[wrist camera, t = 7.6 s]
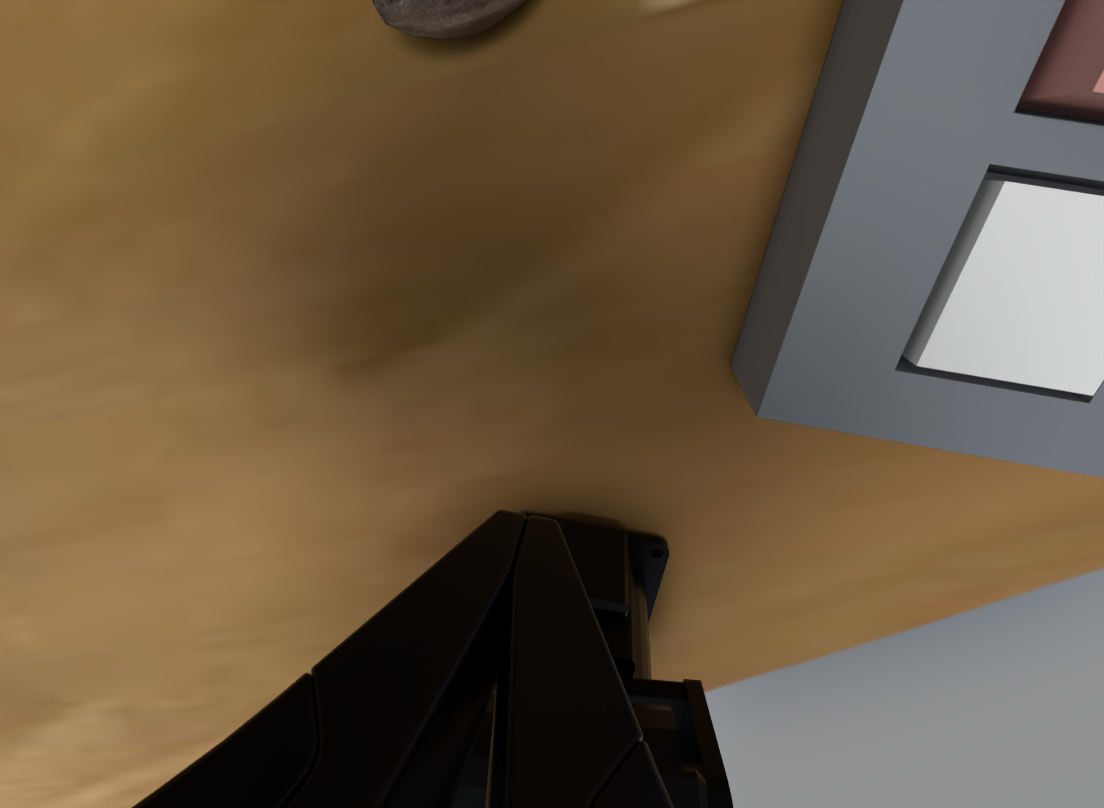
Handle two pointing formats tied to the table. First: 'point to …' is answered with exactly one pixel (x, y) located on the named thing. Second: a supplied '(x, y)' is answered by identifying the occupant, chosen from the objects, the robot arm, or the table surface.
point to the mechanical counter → (444, 15)
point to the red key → (1070, 65)
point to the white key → (1020, 291)
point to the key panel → (911, 231)
